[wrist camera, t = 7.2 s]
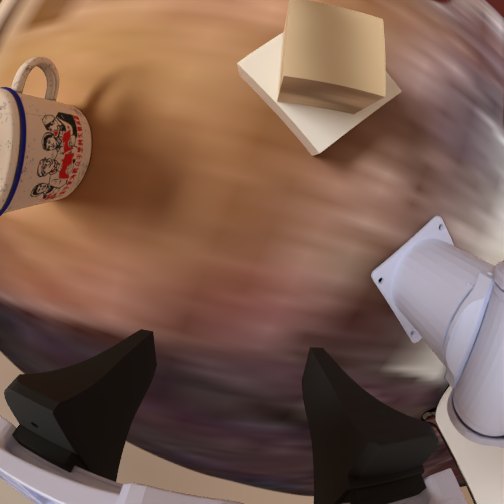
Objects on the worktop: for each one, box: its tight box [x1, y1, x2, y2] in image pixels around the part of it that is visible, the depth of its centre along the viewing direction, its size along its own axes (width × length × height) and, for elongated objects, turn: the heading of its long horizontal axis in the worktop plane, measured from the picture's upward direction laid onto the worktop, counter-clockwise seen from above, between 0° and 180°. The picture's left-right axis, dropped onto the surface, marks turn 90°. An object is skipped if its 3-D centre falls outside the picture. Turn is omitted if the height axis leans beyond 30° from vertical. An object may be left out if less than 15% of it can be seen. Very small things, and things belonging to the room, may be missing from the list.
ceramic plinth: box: [237, 32, 402, 156], centre depth 16 cm, size 8×8×3 cm
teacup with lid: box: [0, 57, 92, 216], centre depth 13 cm, size 12×9×12 cm
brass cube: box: [277, 0, 386, 114], centre depth 13 cm, size 5×5×5 cm
